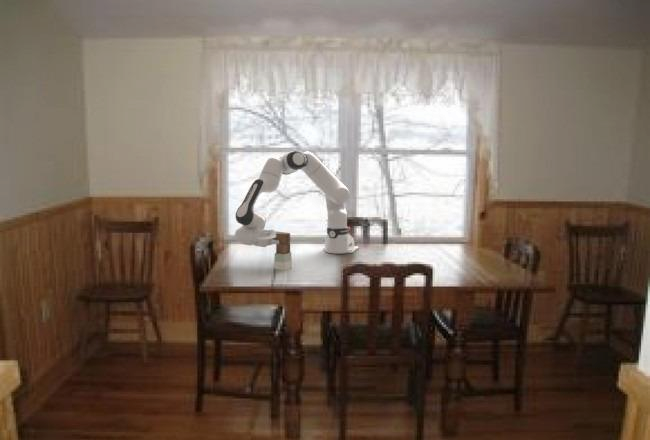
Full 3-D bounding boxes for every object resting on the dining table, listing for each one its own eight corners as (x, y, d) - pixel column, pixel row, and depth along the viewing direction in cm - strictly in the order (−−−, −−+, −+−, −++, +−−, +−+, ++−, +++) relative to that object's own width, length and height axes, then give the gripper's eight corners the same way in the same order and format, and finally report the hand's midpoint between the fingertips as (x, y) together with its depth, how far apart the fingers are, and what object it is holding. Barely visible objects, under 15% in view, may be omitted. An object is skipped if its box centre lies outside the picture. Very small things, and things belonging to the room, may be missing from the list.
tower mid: (281, 258, 279) (281, 251, 279) (291, 260, 277) (291, 252, 276) (274, 261, 274) (274, 253, 274) (284, 262, 271) (284, 254, 271)
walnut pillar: (282, 251, 278) (281, 232, 276) (290, 252, 276) (290, 233, 274) (276, 253, 274) (276, 233, 272) (284, 254, 271) (284, 234, 270)
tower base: (282, 266, 280) (281, 258, 279) (291, 267, 277) (291, 260, 276) (275, 269, 275) (275, 261, 274) (285, 270, 272) (284, 262, 271)
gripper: (249, 235, 271) (272, 237, 264) (273, 229, 288) (295, 231, 281) (250, 247, 272) (272, 250, 265) (274, 241, 289) (296, 243, 282)
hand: (284, 240), depth 273 cm, fingers open, 8 cm apart
